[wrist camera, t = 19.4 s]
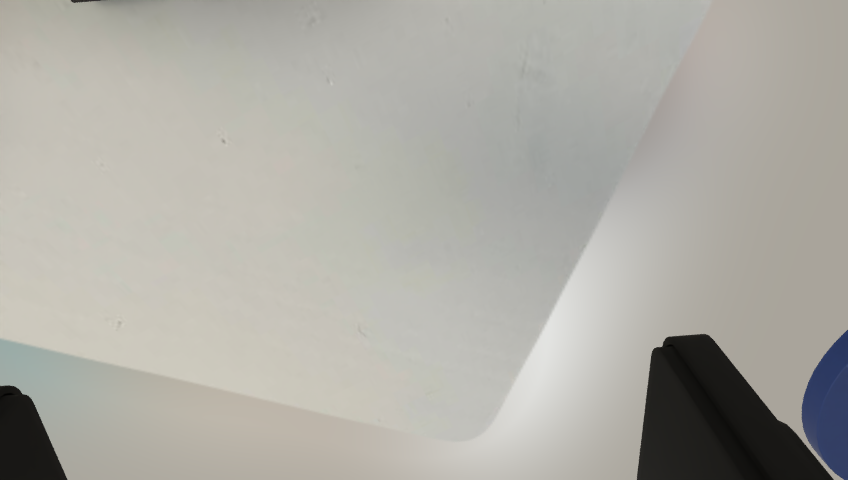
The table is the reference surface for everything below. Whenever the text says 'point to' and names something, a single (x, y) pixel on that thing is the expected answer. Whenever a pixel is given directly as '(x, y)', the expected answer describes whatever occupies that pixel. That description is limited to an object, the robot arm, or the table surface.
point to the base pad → (83, 0)
